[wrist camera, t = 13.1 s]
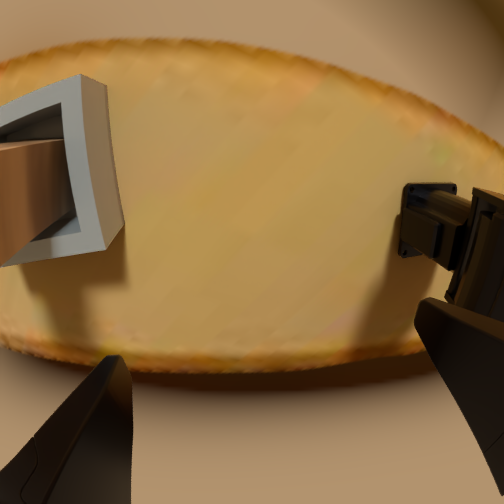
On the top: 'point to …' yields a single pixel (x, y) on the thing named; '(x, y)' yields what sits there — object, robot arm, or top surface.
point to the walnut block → (31, 190)
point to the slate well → (71, 164)
